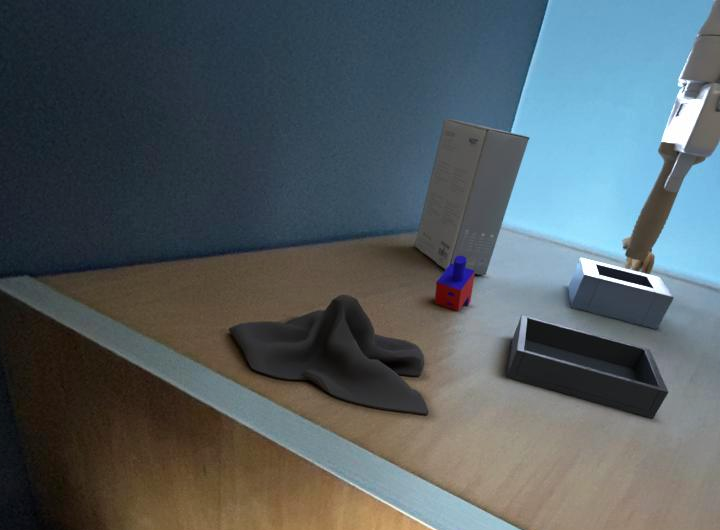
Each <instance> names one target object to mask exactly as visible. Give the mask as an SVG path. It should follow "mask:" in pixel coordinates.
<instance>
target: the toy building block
mask: <svg viewBox="0 0 720 530" xmlns="http://www.w3.org/2000/svg"><path fill="white" fill-rule="evenodd" d="M465 267H466V258H465V257H464V256H457V257H455V259H454V264H452V263H451V264H450V265H449V266H448V268H447V269H446V270H445V269H444V271H443V273H442V274H441V275H440V277H439V278H438V279H437V281H436V283H435V294H434V296H435V297H434V304H435V305H439V306H441V307H445V308H448V309H450V310H454V311H457V312H459V311H460V310H461V308H462V307H463V305H464V306H466V307H468V306H469V305H470V303H471V302H472V295H473V294H472V293H473V288H474V281H475V275H476V274H475V271H474V270H471V269H467V268H465Z"/></svg>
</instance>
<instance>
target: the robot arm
mask: <svg viewBox="0 0 720 530" xmlns="http://www.w3.org/2000/svg"><path fill="white" fill-rule="evenodd" d="M677 86H678V87H680V89H679V91H678V93H677V95H676V99H675V100H674V103H673V106H672V108H671V112H670V115H669V117H668V120H667V123H666V126H665V128H664V132H663V135H662V139H661V142H667V143H672V144H675V145H674V150H675V151H679V154H678V156H677V159H676V163H675V165H674V167H673V169H672V171H671V173H670V175H669V176H668V178H667V180H666V183H665V185H664V189H665V190H666V191H670V192H677V191H678V190H679V191H680V189H679V187H680V185H681V186H682V184H683V182H684V180H683V179H685V178H686V176H687V175H688V173H689V171H691V169H692V167H693V166H694V165H693V164H694V162H695V159H696V157H697V156H702V157H706V158H710V157H711V156H713V154H714V152H715V151H716V149H717V147H718V146H719V143H720V0H712V5H711V9H710V12H709V14H708V16H707V18H706V20H705V21H704V23H703V24H702V26H701V27H700V29H699V30H698V32H697V34H696V37H695V39H694V41H693V43H692V45H691V48H690V51H689V53H688V56H687V58H686V61H685V63H684V66H683V68H682V70H681V72H680V75H679V77H678V82H677ZM682 181H683V182H682ZM681 183H682V184H681ZM680 188H681V187H680Z"/></svg>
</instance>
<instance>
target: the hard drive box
mask: <svg viewBox="0 0 720 530" xmlns="http://www.w3.org/2000/svg"><path fill="white" fill-rule="evenodd" d="M443 120H444V121H443V124H442V129H441V133H440V137H439V142H438V146H437V150H436V153H435V158H434V161H433V167H432V171H431V174H430V180H429V184H428V187H427V192H426V197H425V200H424V205H423V210H422V212H421V217H420V221H419V226H418V230H417V234H416V239H415V243H414V247H415V248H417V250H419V251H420V252H421V253H422V254H424V255H425V256H427V257H428V258H429V259H430V260H432V261H433V262H435V263H436V265H438V266H439V267H441V268H443V269H444V271H445V270H446V269H447V268H448V266H449V265H450V264H451V263H452V264H454V259H455V257H457V256H464V257H465V258H466V267H465V268H467V269H471V270H474V271H475V275H481V276H486V275H487V271H488V270H489V266H490V263H491V261H492V256H493V253H494V251H495V247H496V244H497V240H498V238H499V235H500V231H501V228H502V225H503V222H504V219H505V215H506V212H507V209H508V205H509V202H510V200H511V196H512V193H513V189H514V187H515V184H516V181H517V178H518V174H519V171H520V168H521V165H522V162H523V158H524V155H525V152H526V150H527V145H528V143H529V140H530V139H531V138H530V136H526V135H522V134H518V133H514V132H510V131H506V130H502V129H499V128H493V127H489V126H483V125H480V124H477V123H470V122H466V121H461V120H456V119H451V118H447V117H445V119H443Z"/></svg>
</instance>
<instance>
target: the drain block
mask: <svg viewBox="0 0 720 530" xmlns="http://www.w3.org/2000/svg"><path fill="white" fill-rule="evenodd" d="M567 287H568V295H569V296H568V297H569V304H570V308H573V309H577V310H580V311H584V312H588V313H592V314H596V315H599V316H602V317H607V318H611V319H615V320H619V321H623V322H626V323H629V324H632V325H633V324H634V325H638V326H641V327H645V328H649V329H652V330H653V329H654V330H658V329H659V327H660V325H661V323H662V321H663V319H664V318H665V316H666V314H667V311H668V310H669V308H670V307H671V304H672V302H673V300H674V298H675V296H674V295H673V293H672V292H671V291H670V289H669V288H668V287H667V285H666V284H665V283H664V281H663V280H662V278H661V277H660V276H656V275H652V274H645V273H641V272H637V271H633V270H632V269H630V270H629V269H625V268H624V267H622V266H621V267H620V266H616V265H613V264H609V263H605V262H601V261H596V260H592V259H588V258H585V257H579V259H578V263H577V264H576V267H575V269H574V271H573V274H572V277H571V280H570V282H569V284H568V286H567Z"/></svg>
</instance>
